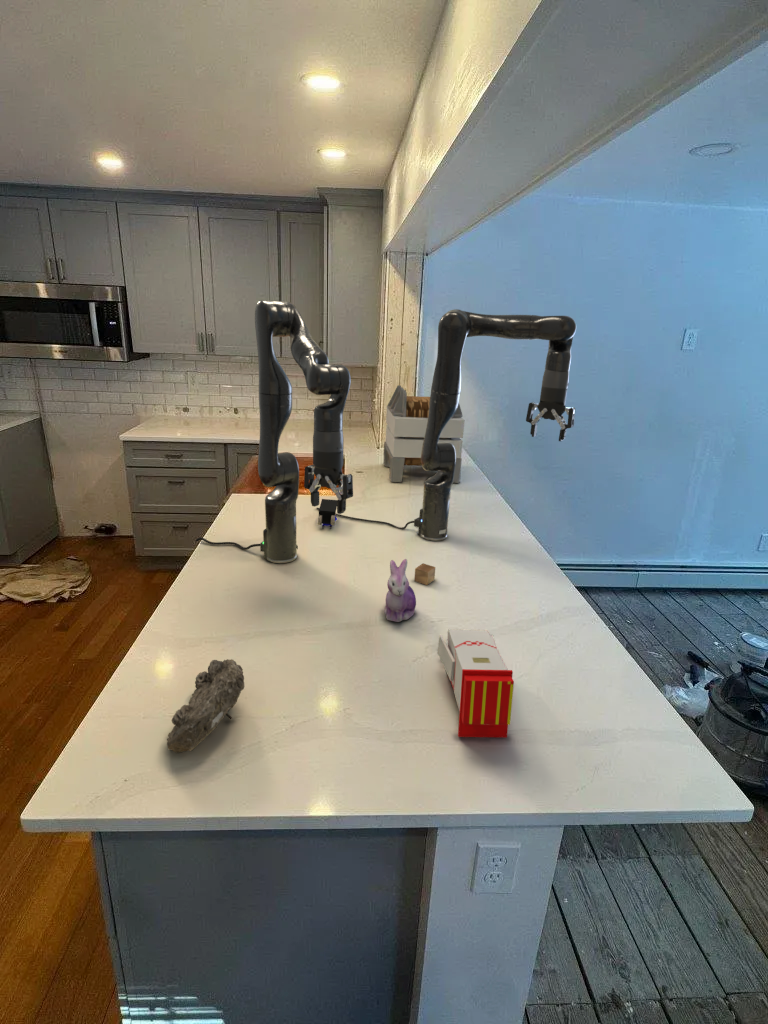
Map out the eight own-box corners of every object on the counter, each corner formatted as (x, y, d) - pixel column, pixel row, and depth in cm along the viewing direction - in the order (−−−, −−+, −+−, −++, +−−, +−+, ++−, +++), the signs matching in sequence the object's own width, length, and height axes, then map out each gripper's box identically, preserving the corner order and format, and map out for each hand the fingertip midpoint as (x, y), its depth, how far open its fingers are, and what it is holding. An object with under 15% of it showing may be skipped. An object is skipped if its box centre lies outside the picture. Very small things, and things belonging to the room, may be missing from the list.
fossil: (192, 660, 117) (244, 628, 112) (224, 691, 120) (276, 661, 115) (142, 746, 98) (202, 712, 93) (182, 779, 101) (242, 748, 96)
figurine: (392, 627, 141) (395, 572, 136) (374, 608, 149) (376, 556, 144) (425, 619, 145) (429, 566, 140) (405, 601, 154) (408, 550, 149)
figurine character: (335, 535, 199) (338, 516, 213) (336, 516, 196) (338, 497, 209) (316, 534, 199) (320, 515, 213) (316, 515, 196) (320, 497, 209)
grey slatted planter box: (382, 463, 289) (386, 382, 275) (445, 464, 293) (451, 384, 279) (390, 482, 257) (394, 392, 243) (460, 483, 261) (468, 394, 247)
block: (414, 581, 166) (415, 568, 164) (421, 575, 169) (422, 563, 168) (427, 585, 164) (428, 572, 162) (434, 579, 167) (435, 567, 166)
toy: (488, 613, 130) (523, 677, 101) (484, 667, 133) (517, 744, 104) (435, 612, 130) (455, 676, 101) (432, 666, 133) (451, 743, 103)
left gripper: (296, 445, 141) (297, 507, 146) (340, 454, 133) (340, 519, 139) (316, 440, 147) (317, 500, 152) (360, 449, 139) (358, 511, 144)
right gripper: (527, 384, 171) (520, 437, 176) (574, 389, 164) (566, 444, 169) (536, 382, 177) (529, 433, 182) (582, 387, 169) (573, 440, 175)
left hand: (328, 509), depth 145 cm, fingers open, 8 cm apart
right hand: (547, 438), depth 176 cm, fingers open, 8 cm apart
